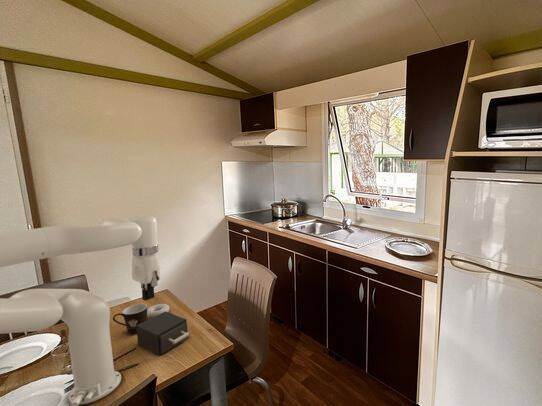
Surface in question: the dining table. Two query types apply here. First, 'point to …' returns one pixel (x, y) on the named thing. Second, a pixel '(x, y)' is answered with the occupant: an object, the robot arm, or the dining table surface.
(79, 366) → the robot arm
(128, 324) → the coffee mug
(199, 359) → the dining table surface
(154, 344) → the gray drawer box
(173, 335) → the drawer
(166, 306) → the donut
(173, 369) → the dining table surface
